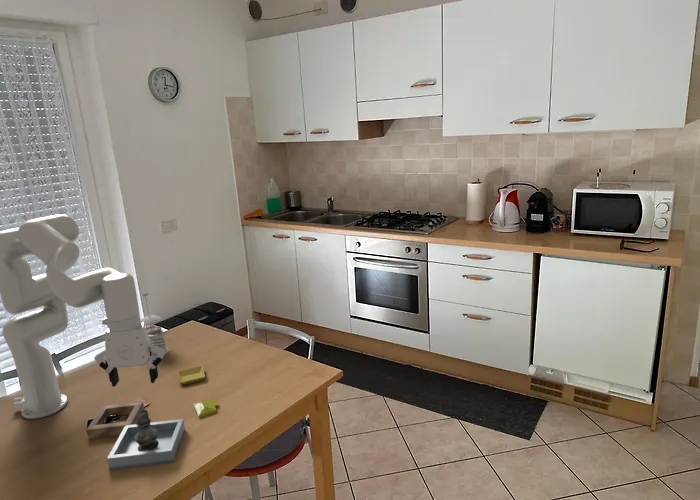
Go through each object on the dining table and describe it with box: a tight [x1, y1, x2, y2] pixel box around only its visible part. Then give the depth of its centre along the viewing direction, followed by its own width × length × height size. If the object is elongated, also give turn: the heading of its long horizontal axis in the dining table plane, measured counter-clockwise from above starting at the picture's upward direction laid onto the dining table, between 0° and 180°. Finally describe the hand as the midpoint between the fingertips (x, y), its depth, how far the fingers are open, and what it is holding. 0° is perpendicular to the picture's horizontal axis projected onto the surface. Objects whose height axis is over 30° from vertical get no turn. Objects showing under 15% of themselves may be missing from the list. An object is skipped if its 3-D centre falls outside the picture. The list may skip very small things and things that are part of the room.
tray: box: [106, 418, 186, 471], centre depth 131 cm, size 16×14×4 cm
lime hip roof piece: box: [192, 398, 219, 418], centre depth 148 cm, size 10×9×3 cm
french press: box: [140, 291, 170, 359], centre depth 184 cm, size 10×12×25 cm
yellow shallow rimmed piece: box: [176, 365, 206, 386], centre depth 167 cm, size 9×9×2 cm
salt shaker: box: [134, 407, 159, 452], centre depth 130 cm, size 6×6×12 cm
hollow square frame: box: [86, 400, 145, 440], centre depth 143 cm, size 12×12×3 cm
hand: (135, 382), depth 126 cm, fingers open, 9 cm apart
